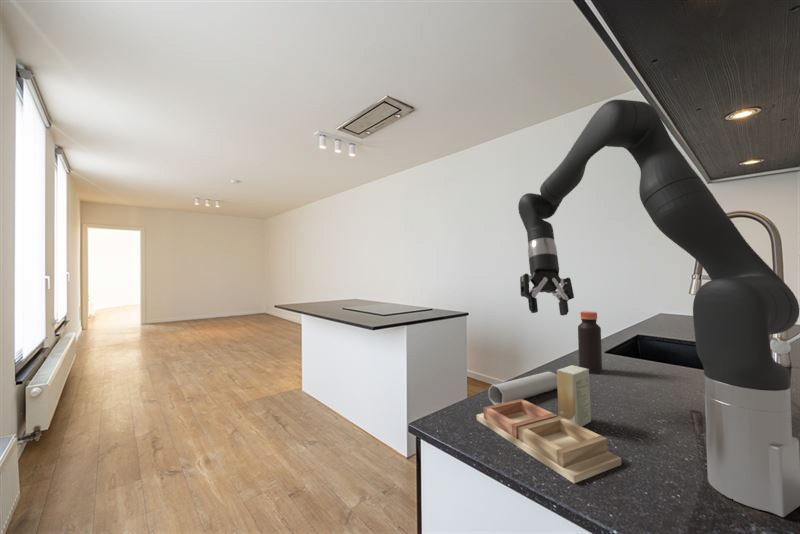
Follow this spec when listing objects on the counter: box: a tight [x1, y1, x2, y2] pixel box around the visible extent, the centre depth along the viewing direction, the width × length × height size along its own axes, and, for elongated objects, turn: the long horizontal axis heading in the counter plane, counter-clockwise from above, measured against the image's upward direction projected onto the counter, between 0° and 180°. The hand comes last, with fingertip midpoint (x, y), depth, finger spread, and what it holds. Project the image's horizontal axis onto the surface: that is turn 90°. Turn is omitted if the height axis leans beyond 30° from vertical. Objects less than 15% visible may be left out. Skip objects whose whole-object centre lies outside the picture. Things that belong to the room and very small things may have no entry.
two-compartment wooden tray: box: [476, 399, 622, 484], centre depth 68 cm, size 26×12×4 cm, turn 24°
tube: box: [488, 371, 558, 405], centre depth 92 cm, size 5×5×25 cm
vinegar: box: [577, 311, 603, 374], centre depth 113 cm, size 7×7×20 cm
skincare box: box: [556, 364, 592, 427], centre depth 75 cm, size 6×4×12 cm
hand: (549, 313), depth 88 cm, fingers open, 8 cm apart
